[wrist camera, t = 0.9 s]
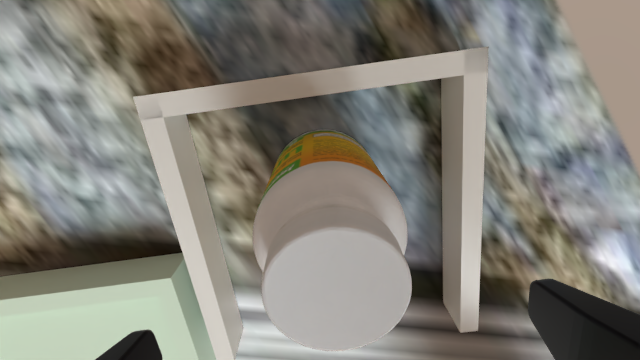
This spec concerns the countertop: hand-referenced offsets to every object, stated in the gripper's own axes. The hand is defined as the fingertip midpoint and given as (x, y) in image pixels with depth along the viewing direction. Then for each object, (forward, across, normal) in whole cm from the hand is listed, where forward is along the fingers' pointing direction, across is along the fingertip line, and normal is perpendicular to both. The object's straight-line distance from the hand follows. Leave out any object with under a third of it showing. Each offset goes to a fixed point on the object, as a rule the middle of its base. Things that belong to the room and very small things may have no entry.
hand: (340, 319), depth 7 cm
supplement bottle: (+11, 0, 0) cm, 11 cm away
